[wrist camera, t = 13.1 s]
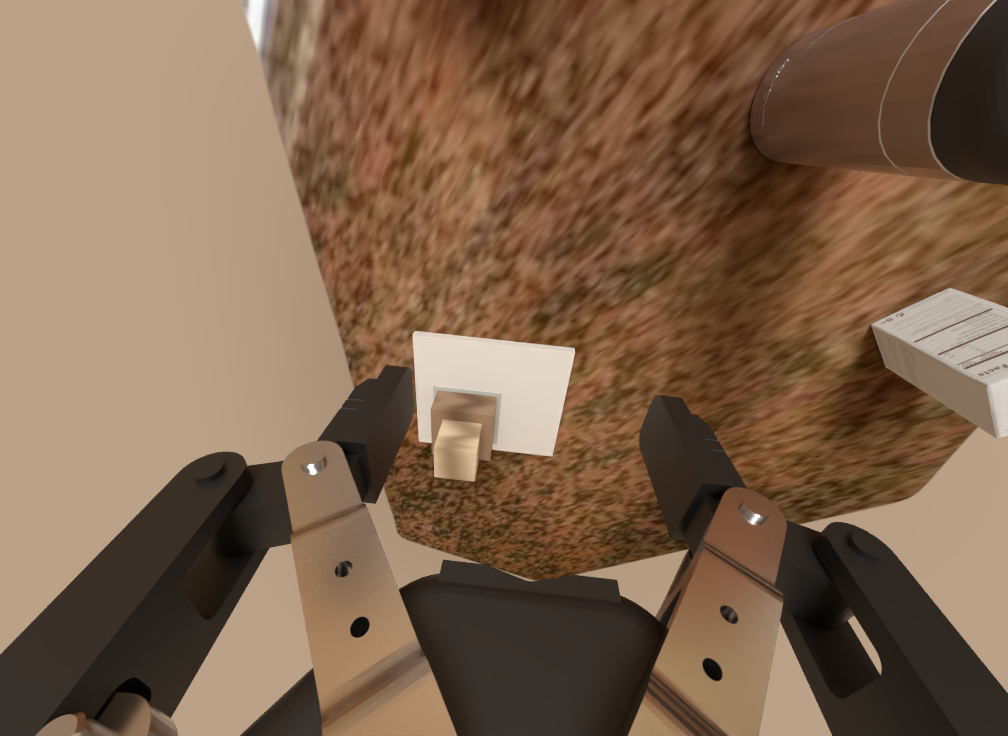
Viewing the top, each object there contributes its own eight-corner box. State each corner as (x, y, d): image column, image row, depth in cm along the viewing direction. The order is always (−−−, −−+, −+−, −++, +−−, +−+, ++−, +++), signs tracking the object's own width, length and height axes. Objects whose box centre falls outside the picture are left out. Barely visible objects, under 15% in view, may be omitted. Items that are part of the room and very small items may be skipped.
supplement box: (960, 335, 41) (1112, 405, 30) (882, 367, 43) (995, 442, 33) (951, 284, 38) (1114, 341, 27) (868, 322, 41) (987, 388, 30)
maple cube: (482, 423, 46) (476, 452, 42) (479, 451, 49) (474, 481, 44) (442, 419, 46) (433, 447, 42) (443, 447, 49) (434, 476, 44)
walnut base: (496, 396, 48) (494, 416, 45) (493, 440, 53) (490, 461, 49) (437, 390, 49) (430, 409, 45) (438, 434, 53) (432, 454, 49)
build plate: (574, 348, 45) (575, 352, 44) (552, 451, 55) (552, 456, 54) (414, 331, 45) (412, 335, 44) (420, 436, 55) (418, 442, 54)
